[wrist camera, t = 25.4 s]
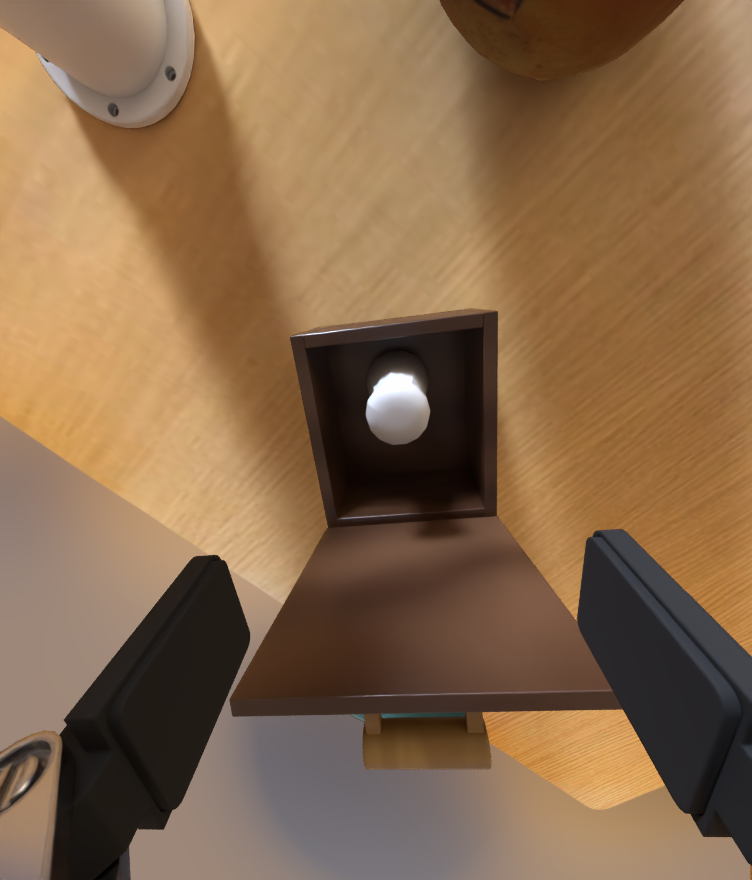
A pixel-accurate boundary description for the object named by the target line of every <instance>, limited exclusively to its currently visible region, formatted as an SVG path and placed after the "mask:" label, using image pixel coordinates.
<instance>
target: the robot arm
mask: <svg viewBox="0 0 752 880" xmlns="http://www.w3.org/2000/svg"><path fill="white" fill-rule="evenodd" d="M0 27H1V28H2V29H4V30H5V31H6V32H8V33H9V34H11V35H12V36H14V37H15V38H17V39H18V40H19V41H21V42H22V43H24V44H25V45H27V46H28V47H30V48H31V49H32V50H34V51H35V52H36V54H37V56H38V58H39V60H40V62H41V63H42V65H43V67H44V68H45V70H46V71H47V73H48V74H49V76H50V77H51V78H52V80H53V81H54V83H55V84H56V85H57V86H58V87H59V88H60V89H61V90H62V92H63V93H64V94H65V95H66V96H67V97H68V98H69V99H70V100H72V101H73V102H74V103H75V104H77V105H78V106H79V107H80V108H81V109H83V110H84V111H86V112H88V113H89V114H91V115H93V116H94V117H96V118H97V119H100V120H102V121H104V122H106V123H109V124H111V125H114V126H119V127H124V128H141V127H145V126H148V125H151V124H154V123H156V122H158V121H159V120H161V119H162V118H164V117H166V116H167V115H168V114H169V113H170V112H171V111H172V110H173V109H174V108H175V107H176V105H177V104H178V102H179V100H180V99H181V97H182V95H183V94H184V92H185V89H186V87H187V84H188V81H189V79H190V76H191V71H192V65H193V60H194V43H195V35H194V25H193V16H192V11H191V7H190V3H189V0H0ZM577 621H578V626H579V630H580V632H581V634H582V636H583V638H584V640H585V642H586V644H587V645H588V647H589V649H590V651H591V653H592V654H593V656H594V658H595V660H596V662H597V663H598V665H599V667H600V669H601V670H602V672H603V674H604V676H605V678H606V679H607V681H608V683H609V685H610V687H611V688H612V690H613V692H614V694H615V696H616V697H617V699H618V701H619V703H620V705H621V706H622V708H623V710H624V712H625V714H626V715H627V717H628V719H629V721H630V723H631V724H632V726H633V728H634V730H635V732H636V733H637V735H638V737H639V739H640V741H641V742H642V744H643V746H644V748H645V750H646V751H647V753H648V755H649V757H650V759H651V760H652V762H653V764H654V766H655V768H656V769H657V771H658V773H659V775H660V777H661V778H662V780H663V782H664V784H665V786H666V787H667V789H668V791H669V793H670V795H671V796H672V798H673V800H674V801H675V803H676V804H677V806H678V807H679V808H680V809H681V810H682V811H683V812H684V813H687V814H691V816H692V818H693V820H694V821H695V823H696V825H697V826H698V828H699V830H700V832H701V834H702V835H703V837H732V838H733V840H734V841H735V843H736V844H737V846H738V848H739V849H740V851H741V852H742V854H743V856H744V857H745V859H746V860H747V862H748V863H749V864H750V880H752V657H751V656H750V655H749V654H748V653H747V652H746V651H745V650H744V649H743V648H742V647H741V646H740V645H739V644H738V643H737V642H736V641H735V640H734V639H733V638H732V637H731V636H730V635H729V634H728V633H727V632H726V631H725V630H724V629H723V628H722V627H721V626H720V625H719V624H718V623H717V622H716V621H715V620H714V619H713V618H712V617H711V616H710V615H709V614H708V613H707V612H706V611H705V610H704V609H703V608H702V607H701V606H700V605H699V604H698V603H697V602H696V601H695V600H694V599H693V598H692V597H691V596H690V595H689V594H688V593H687V592H686V591H685V590H684V589H683V588H682V587H681V586H680V585H679V584H678V583H677V582H676V581H675V580H674V579H673V578H672V577H671V576H670V575H669V574H668V573H667V572H666V571H665V570H664V569H663V568H662V567H661V566H660V565H659V564H658V563H657V562H656V561H655V560H654V559H653V558H652V557H651V556H650V555H649V554H648V553H647V552H646V551H645V550H644V549H643V548H642V547H641V546H640V545H639V544H638V543H637V542H636V541H635V540H634V539H633V538H632V537H631V536H630V535H629V534H628V533H627V532H626V531H624V530H622V529H615V530H599V531H595V532H594V534H593V537H589V538H588V539H587V541H586V547H585V556H584V564H583V573H582V581H581V590H580V598H579V607H578V615H577ZM249 642H250V631H249V628H248V625H247V622H246V619H245V616H244V613H243V610H242V607H241V605H240V601H239V598H238V596H237V593H236V590H235V587H234V584H233V581H232V578H231V575H230V572H229V569H228V566H227V564H226V562H225V561H224V560H221V559H220V557H219V556H218V555H208V556H196V557H193V558H192V559H191V560H190V562H189V563H188V564H187V565H186V567H185V568H184V569H183V570H182V572H181V573H180V574H179V575H178V577H177V578H176V579H175V580H174V582H173V583H172V584H171V585H170V587H169V588H168V589H167V591H166V592H165V593H164V594H163V596H162V597H161V598H160V599H159V601H158V602H157V603H156V604H155V606H154V607H153V608H152V609H151V611H150V612H149V613H148V615H147V616H146V617H145V619H143V621H142V622H141V623H140V625H139V626H138V627H137V628H136V630H135V631H134V632H133V633H132V635H131V636H130V637H129V638H128V640H127V641H126V642H125V643H124V645H123V646H122V647H121V648H120V650H119V651H118V652H117V653H116V655H115V656H114V657H113V658H112V660H111V661H110V662H109V664H108V665H107V666H106V667H105V669H104V670H103V671H102V672H101V674H100V675H99V676H98V677H97V679H96V680H95V681H94V682H93V684H92V685H91V686H90V688H89V689H88V690H87V691H86V692H85V694H84V695H83V696H82V698H81V699H80V700H79V701H78V703H77V704H76V705H75V706H74V708H73V709H72V710H71V711H70V713H69V714H68V715H67V716H66V718H65V719H64V721H65V722H66V724H67V726H66V727H65V728H64V730H63V731H62V732H61V734H60V735H58V734H57V733H55V732H54V731H42V732H38V733H34V734H31V735H29V736H27V737H24V738H22V739H20V740H18V741H16V742H15V743H13V744H12V745H10V746H9V747H7V748H6V749H4V750H3V751H1V752H0V880H131V878H130V857H129V845H130V843H131V841H132V839H133V836H134V835H135V832H136V830H137V828H138V829H157V830H158V829H159V830H160V829H161V830H163V829H164V828H165V826H166V823H167V821H168V819H169V816H170V814H171V812H172V810H174V809H176V808H177V807H178V806H179V805H180V803H181V802H182V800H183V798H184V796H185V794H186V791H187V789H188V786H189V784H190V782H191V780H192V777H193V775H194V773H195V770H196V768H197V766H198V763H199V761H200V759H201V756H202V754H203V752H204V749H205V747H206V745H207V742H208V740H209V738H210V735H211V733H212V731H213V728H214V726H215V724H216V721H217V719H218V716H219V714H220V712H221V710H222V707H223V705H224V702H225V700H226V698H227V696H228V693H229V691H230V689H231V686H232V684H233V682H234V679H235V677H236V675H237V672H238V670H239V668H240V665H241V663H242V660H243V658H244V656H245V653H246V651H247V649H248V646H249Z"/></svg>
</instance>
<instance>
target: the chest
mask: <svg viewBox="0 0 752 880" xmlns="http://www.w3.org/2000/svg"><path fill="white" fill-rule="evenodd" d="M290 340H291V345H292V350H293V355H294V360H295V365H296V370H297V374H298V379H299V384H300V389H301V394H302V399H303V404H304V409H305V414H306V419H307V424H308V429H309V434H310V439H311V444H312V449H313V454H314V459H315V464H316V469H317V474H318V479H319V484H320V489H321V494H322V499H323V504H324V509H325V514H326V519H327V524H328V528H335V527H350V526H364V525H379V524H393V523H408V522H422V521H436V520H451V519H465V518H480V517H494V516H497V365H498V311H491V310H481V309H464V310H456V311H448V312H440V313H432V314H424V315H416V316H408V317H400V318H392V319H384V320H376V321H368V322H359V323H351V324H343V325H335V326H327V327H319V328H314V329H311V330H308V331H305V332H302V333H299V334H296V335H293V336H290ZM391 351H405V352H408V353H410V354H413V355H415V356H417V357H418V358H419V359H420V360H421V362H422V363H423V364H424V365H425V366H426V368H427V372H428V375H429V379H430V383H429V388H428V392H427V395H426V397H427V401H428V404H429V408H430V415H429V419H428V424H427V427H426V429H425V430H424V431H423V433H422V434H421V435H420V436H419V438H417V439H415V440H413V441H411V442H409V443H407V444H397V445H392V444H389V443H387V442H384V441H382V440H380V439H379V438H378V437H377V436H376V435H375V434H374V433H373V432H372V431H371V430H370V427H369V424H368V421H367V418H366V409H367V401H368V399H369V398H370V396H369V392H368V389H367V386H366V382H367V375H368V370H369V369H370V367H371V366H372V364H373V363H374V361H375V360H376V359H377V358H379V357H381V356H382V355H384V354H386V353H387V352H391Z"/></svg>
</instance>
